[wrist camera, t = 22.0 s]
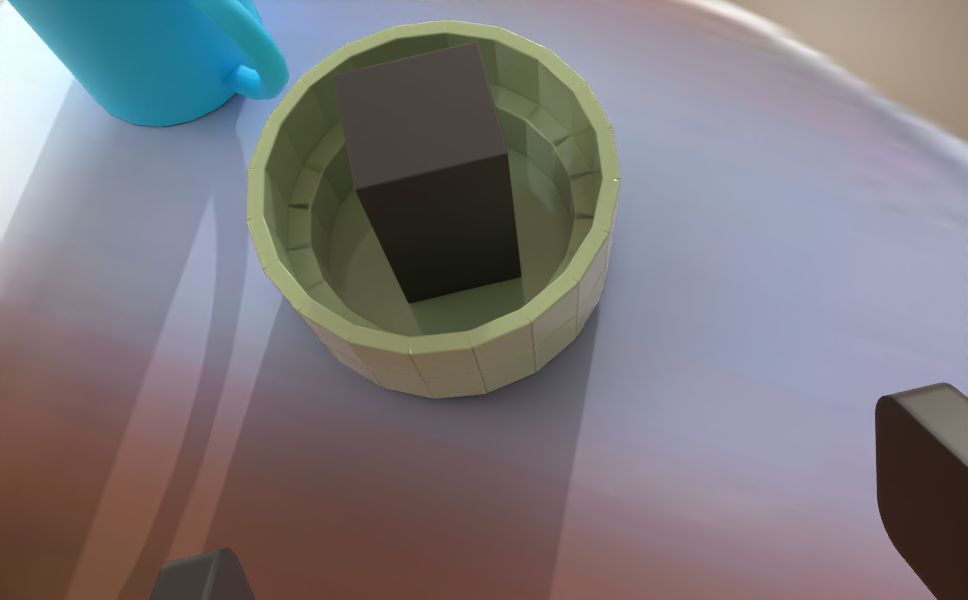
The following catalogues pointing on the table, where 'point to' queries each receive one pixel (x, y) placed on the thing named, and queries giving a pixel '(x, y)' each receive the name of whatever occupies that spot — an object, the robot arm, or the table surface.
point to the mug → (161, 53)
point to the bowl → (362, 262)
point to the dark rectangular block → (432, 170)
